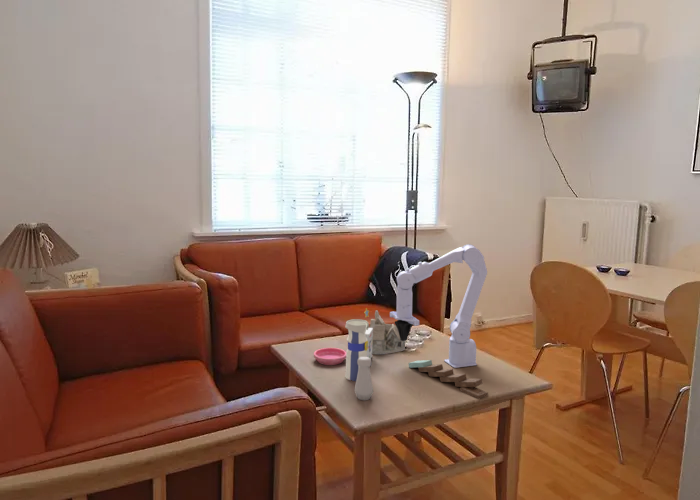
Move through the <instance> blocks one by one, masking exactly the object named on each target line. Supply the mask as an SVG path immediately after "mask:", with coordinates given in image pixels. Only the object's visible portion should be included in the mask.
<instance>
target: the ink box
mask: <svg viewBox="0 0 700 500" xmlns="http://www.w3.org/2000/svg"><path fill="white" fill-rule="evenodd" d="M365 335H366V338H367V341H368V349H367V357H369V358H370V359H371V360H372V357H373V354H372V344H373V328H368V330H367V329H366V332H365Z"/></svg>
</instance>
